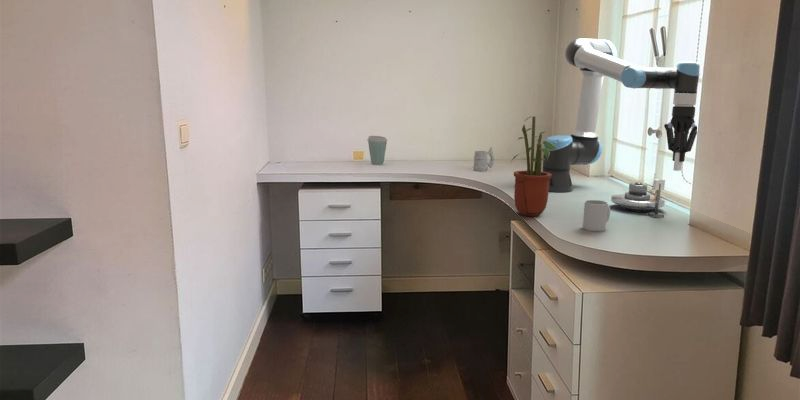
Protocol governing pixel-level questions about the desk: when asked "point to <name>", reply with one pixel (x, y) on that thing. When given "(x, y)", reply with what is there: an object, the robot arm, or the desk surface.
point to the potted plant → (532, 177)
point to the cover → (637, 192)
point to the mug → (483, 160)
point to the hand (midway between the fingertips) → (677, 170)
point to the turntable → (638, 204)
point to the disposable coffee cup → (377, 149)
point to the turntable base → (636, 209)
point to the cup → (595, 215)
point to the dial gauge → (657, 197)
